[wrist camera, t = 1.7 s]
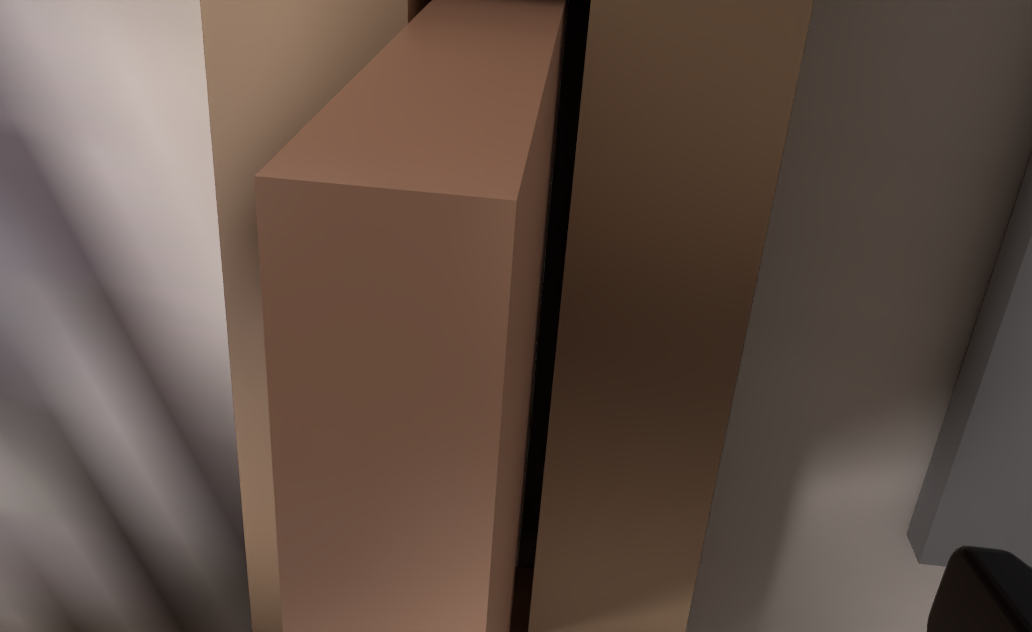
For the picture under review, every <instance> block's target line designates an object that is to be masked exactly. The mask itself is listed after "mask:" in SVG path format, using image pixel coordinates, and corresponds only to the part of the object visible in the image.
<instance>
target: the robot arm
mask: <svg viewBox="0 0 1032 632" xmlns="http://www.w3.org/2000/svg"><path fill="white" fill-rule="evenodd" d="M927 632H1032V568H1031V567H1030V566H1028V565H1027V564H1026V563H1024V562H1023V561H1022V560H1020V559H1019V558H1018V557H1017V556H1015V555H1014V554H1012V553H1011V552H1008V551H1006V550H1002V549H994V548H985V547H975V546H961V547H959V548H957V549H955V551H954V552H953V553H952V554H951V556H950V558H949V560H948V563H947V566H946V569H945V571H944V574H943V577H942V580H941V582H940V585H939V588H938V591H937V594H936V596H935V599H934V602H933V605H932V607H931V610H930V613H929V617H928V623H927Z"/></svg>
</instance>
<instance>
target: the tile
mask: <svg viewBox="0 0 1032 632" xmlns="http://www.w3.org/2000/svg"><path fill="white" fill-rule="evenodd" d="M567 11H568V0H432V1H431V2H430V3H429V4H428V5H427V6H426V7H425V8H424V9H423V10H422V11H421V12H419V13H418V14H417V15H416V16H415V17H414V18H413V19H412V20H411V21H410V22H409V23H408V24H407V25H406V26H405V27H404V28H403V29H402V30H401V31H400V32H399V33H398V34H397V35H396V36H395V37H394V38H393V39H392V40H391V41H390V42H389V43H388V44H387V45H386V46H385V47H384V48H383V49H382V50H381V51H380V52H379V53H378V54H377V55H376V56H375V57H374V58H373V59H372V60H371V61H370V62H369V63H368V64H367V65H366V66H365V67H364V68H363V69H362V70H361V71H360V72H359V73H358V74H357V75H356V76H355V77H354V78H353V79H352V80H351V81H350V82H349V83H348V84H347V85H346V86H345V87H344V88H343V89H342V90H341V91H340V92H338V93H337V94H336V95H335V96H334V97H333V98H332V99H331V100H330V101H329V102H328V103H327V104H326V105H325V106H324V107H323V108H322V109H321V110H320V111H319V112H318V113H317V114H316V115H315V116H314V117H313V118H312V119H311V120H310V121H309V122H308V123H307V124H306V125H305V126H304V127H303V128H302V129H301V130H300V131H299V132H298V133H297V134H296V135H295V136H294V137H293V138H292V139H291V140H290V141H289V142H288V143H287V144H286V145H285V146H284V147H283V148H282V149H281V150H280V151H279V152H278V153H277V154H276V155H275V156H274V157H273V158H272V159H271V160H270V161H269V162H268V163H267V164H266V165H265V166H264V167H263V168H262V169H261V170H260V171H259V172H258V173H256V174H255V175H254V183H255V199H256V215H257V231H258V247H259V263H260V279H261V295H262V311H263V326H264V342H265V358H266V374H267V390H268V406H269V422H270V438H271V454H272V470H273V485H274V501H275V517H276V533H277V549H278V565H279V581H280V597H281V613H282V629H283V632H509V631H510V622H511V614H512V606H513V598H514V590H515V581H516V573H517V565H518V557H519V548H520V539H521V528H522V516H523V505H524V494H525V483H526V471H527V460H528V449H529V438H530V426H531V415H532V404H533V393H534V381H535V370H536V359H537V348H538V337H539V325H540V314H541V303H542V292H543V280H544V269H545V258H546V247H547V235H548V224H549V213H550V202H551V190H552V179H553V168H554V157H555V146H556V134H557V123H558V112H559V101H560V89H561V78H562V67H563V56H564V44H565V33H566V22H567Z"/></svg>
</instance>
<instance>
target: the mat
mask: <svg viewBox="0 0 1032 632" xmlns="http://www.w3.org/2000/svg"><path fill="white" fill-rule="evenodd" d="M907 536H908V538H909V541H910V543H911V546H912V548H913V550H914V553H915V555H916V557H917V560H918V562H919V563H920V564H929V565H938V566H947V563H948V560H949V558H950V556H951V554H952V553H953V552H954V551H955V549H957V548H959V547H961V546H975V547H985V548H994V549H1002V550H1006V551H1008V552H1011V553H1012V554H1014V555H1015V556H1017V557H1018V558H1019V559H1020V560H1022V561H1023V562H1024V563H1026V564H1027V565H1028V566H1030V567H1031V568H1032V154H1031V157H1030V160H1029V163H1028V166H1027V170H1026V173H1025V176H1024V179H1023V182H1022V185H1021V188H1020V191H1019V194H1018V197H1017V200H1016V203H1015V206H1014V209H1013V212H1012V215H1011V218H1010V221H1009V224H1008V227H1007V230H1006V233H1005V236H1004V240H1003V243H1002V246H1001V249H1000V252H999V255H998V258H997V261H996V264H995V267H994V270H993V273H992V276H991V279H990V282H989V285H988V288H987V291H986V294H985V297H984V300H983V303H982V306H981V310H980V313H979V316H978V319H977V322H976V325H975V328H974V331H973V334H972V337H971V340H970V343H969V346H968V349H967V352H966V355H965V358H964V361H963V364H962V367H961V370H960V373H959V376H958V380H957V383H956V386H955V389H954V392H953V395H952V398H951V401H950V404H949V407H948V410H947V413H946V416H945V419H944V422H943V425H942V428H941V431H940V434H939V437H938V440H937V443H936V446H935V450H934V453H933V456H932V459H931V462H930V465H929V468H928V471H927V474H926V477H925V480H924V483H923V486H922V489H921V492H920V495H919V498H918V501H917V504H916V507H915V510H914V513H913V516H912V520H911V523H910V526H909V529H908V532H907Z"/></svg>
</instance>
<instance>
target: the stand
mask: <svg viewBox="0 0 1032 632" xmlns="http://www.w3.org/2000/svg"><path fill="white" fill-rule="evenodd" d="M431 1H432V0H200V6H201V18H202V31H203V43H204V55H205V67H206V79H207V91H208V103H209V115H210V127H211V139H212V151H213V163H214V175H215V187H216V200H217V212H218V224H219V236H220V248H221V260H222V272H223V284H224V296H225V308H226V320H227V332H228V344H229V357H230V369H231V381H232V393H233V405H234V417H235V429H236V441H237V453H238V465H239V477H240V489H241V501H242V513H243V526H244V538H245V550H246V562H247V574H248V586H249V598H250V610H251V622H252V632H283V629H282V613H281V597H280V581H279V565H278V549H277V533H276V517H275V501H274V485H273V470H272V454H271V438H270V422H269V406H268V390H267V374H266V358H265V342H264V326H263V311H262V295H261V279H260V263H259V247H258V231H257V215H256V199H255V183H254V175H255V174H256V173H258V172H259V171H260V170H261V169H262V168H263V167H264V166H265V165H266V164H267V163H268V162H269V161H270V160H271V159H272V158H273V157H274V156H275V155H276V154H277V153H278V152H279V151H280V150H281V149H282V148H283V147H284V146H285V145H286V144H287V143H288V142H289V141H290V140H291V139H292V138H293V137H294V136H295V135H296V134H297V133H298V132H299V131H300V130H301V129H302V128H303V127H304V126H305V125H306V124H307V123H308V122H309V121H310V120H311V119H312V118H313V117H314V116H315V115H316V114H317V113H318V112H319V111H320V110H321V109H322V108H323V107H324V106H325V105H326V104H327V103H328V102H329V101H330V100H331V99H332V98H333V97H334V96H335V95H336V94H337V93H338V92H340V91H341V90H342V89H343V88H344V87H345V86H346V85H347V84H348V83H349V82H350V81H351V80H352V79H353V78H354V77H355V76H356V75H357V74H358V73H359V72H360V71H361V70H362V69H363V68H364V67H365V66H366V65H367V64H368V63H369V62H370V61H371V60H372V59H373V58H374V57H375V56H376V55H377V54H378V53H379V52H380V51H381V50H382V49H383V48H384V47H385V46H386V45H387V44H388V43H389V42H390V41H391V40H392V39H393V38H394V37H395V36H396V35H397V34H398V33H399V32H400V31H401V30H402V29H403V28H404V27H405V26H406V25H407V24H408V23H409V22H410V21H411V20H412V19H413V18H414V17H415V16H416V15H417V14H418V13H419V12H421V11H422V10H423V9H424V8H425V7H426V6H427V5H428V4H429V3H430V2H431ZM813 3H814V0H591V4H590V14H589V24H588V34H587V44H586V54H585V65H584V75H583V85H582V95H581V105H580V115H579V125H578V135H577V145H576V155H575V165H574V175H573V185H572V195H571V205H570V215H569V225H568V235H567V245H566V256H565V266H564V276H563V286H562V296H561V306H560V316H559V326H558V336H557V346H556V356H555V366H554V376H553V386H552V396H551V406H550V416H549V426H548V436H547V447H546V457H545V467H544V477H543V487H542V497H541V507H540V517H539V527H538V537H537V547H536V557H535V567H534V569H529V568H520V567H517V573H516V581H515V590H514V598H513V606H512V614H511V622H510V631H509V632H686V627H687V622H688V617H689V612H690V607H691V602H692V597H693V592H694V587H695V582H696V577H697V573H698V568H699V563H700V558H701V553H702V548H703V543H704V538H705V533H706V528H707V523H708V519H709V514H710V509H711V504H712V499H713V494H714V489H715V484H716V479H717V474H718V469H719V464H720V460H721V455H722V450H723V445H724V440H725V435H726V430H727V425H728V420H729V415H730V410H731V405H732V401H733V396H734V391H735V386H736V381H737V376H738V371H739V366H740V361H741V356H742V351H743V347H744V342H745V337H746V332H747V327H748V322H749V317H750V312H751V307H752V302H753V297H754V292H755V288H756V283H757V278H758V273H759V268H760V263H761V258H762V253H763V248H764V243H765V238H766V234H767V229H768V224H769V219H770V214H771V209H772V204H773V199H774V194H775V189H776V184H777V179H778V175H779V170H780V165H781V160H782V155H783V150H784V145H785V140H786V135H787V130H788V125H789V120H790V116H791V111H792V106H793V101H794V96H795V91H796V86H797V81H798V76H799V71H800V66H801V62H802V57H803V52H804V47H805V42H806V37H807V32H808V27H809V22H810V17H811V12H812V7H813Z"/></svg>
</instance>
